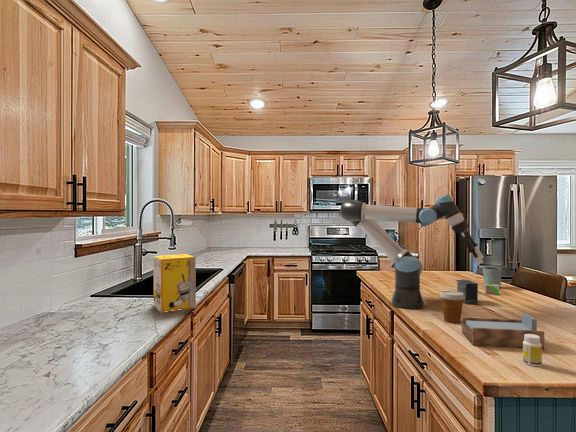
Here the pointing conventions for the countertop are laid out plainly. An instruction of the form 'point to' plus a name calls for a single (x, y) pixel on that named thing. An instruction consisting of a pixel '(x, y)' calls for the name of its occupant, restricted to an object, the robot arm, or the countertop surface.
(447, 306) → the disposable coffee cup
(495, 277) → the drinking glass
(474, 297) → the small box
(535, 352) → the supplement bottle
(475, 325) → the cover plate
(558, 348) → the countertop surface
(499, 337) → the box body
